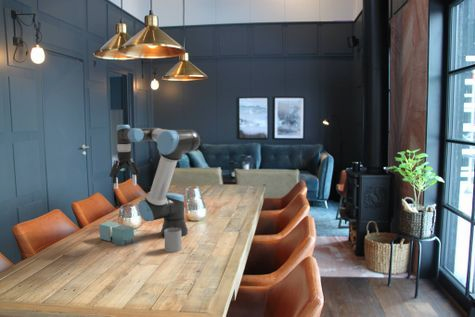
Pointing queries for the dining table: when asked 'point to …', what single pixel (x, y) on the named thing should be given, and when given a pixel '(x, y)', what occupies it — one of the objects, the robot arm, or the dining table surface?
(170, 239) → the cup
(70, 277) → the dining table surface
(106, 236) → the block
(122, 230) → the teal stepped block
